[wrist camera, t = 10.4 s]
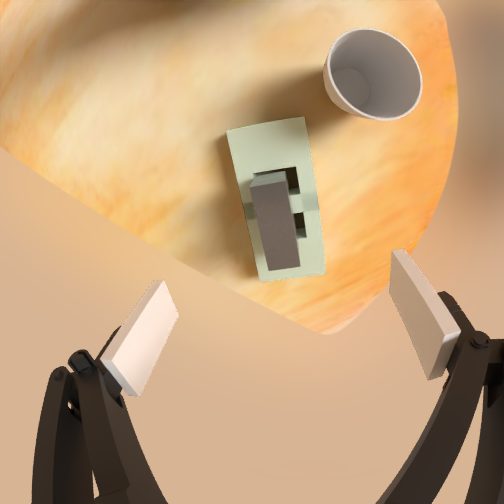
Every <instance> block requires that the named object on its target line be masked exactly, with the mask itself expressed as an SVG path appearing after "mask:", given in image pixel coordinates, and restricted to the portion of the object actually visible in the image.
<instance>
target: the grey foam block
mask: <svg viewBox="0 0 504 504" xmlns="http://www.w3.org/2000/svg"><path fill="white" fill-rule="evenodd" d="M249 188H250V193H251V197H252V201H253V205H254V210H255V214H256V218H257V223H258V227H259V231H260V236H261V240H262V244H263V249H264V253H265V258H266V262H267V266H268V271H274V270H281V269H288V268H295V267H301V265H300V255H299V245H298V239H297V230H296V222H295V216H294V213H293V210H292V204H291V199H290V194H289V184H288V179H287V174H286V172H285V171H281V172H276V173H270V174H265V175H260V176H255V178H254V180H253V182H252V183H251V185H250V187H249Z"/></svg>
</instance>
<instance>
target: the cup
mask: <svg viewBox="0 0 504 504" xmlns="http://www.w3.org/2000/svg"><path fill="white" fill-rule="evenodd" d="M323 78H324V85H325V89H326V92H327V94H328V96H329V97H330V99H331V100H332V101H333V102H334V103H335V104H336V105H337V106H338V107H339V108H341V109H343V110H344V111H346V112H348V113H350V114H352V115H354V116H357V117H361V118H368V119H375V120H382V121H390V120H396V119H399V118H402V117H404V116H406V115H407V114H409V113H410V112H411V111H412V110H413V109H414V108H415V107H416V105H417V104H418V102H419V100H420V97H421V94H422V85H423V84H422V75H421V71H420V68H419V65H418V63H417V61H416V59H415V57H414V56H413V54H412V53H411V52H410V50H409V49H408V48H407V47H406V46H405V45H404V44H403V43H402V42H401V41H399V40H398V39H397V38H395V37H394V36H392V35H390V34H388V33H386V32H384V31H381V30H378V29H373V28H356V29H352V30H349V31H347V32H345V33H343V34H341V35H340V36H339V37H338V38H337V39H336V40H335V41H334V42H333V44H332V46H331V48H330V50H329V53H328V56H327V59H326V61H325V64H324V69H323Z"/></svg>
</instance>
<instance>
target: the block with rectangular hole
mask: <svg viewBox="0 0 504 504" xmlns="http://www.w3.org/2000/svg"><path fill="white" fill-rule="evenodd" d="M226 134H227V138H228V142H229V147H230V151H231V156H232V160H233V164H234V169H235V173H236V178H237V182H238V186H239V191H240V195H241V200H242V204H243V208H244V213H245V217H246V222H247V226H248V230H249V235H250V239H251V244H252V248H253V253H254V257H255V261H256V266H257V270H258V275H259V279H260V282H267V281H275V280H283V279H291V278H299V277H307V276H314V275H322V274H326V268H325V257H324V246H323V237H322V227H321V219H320V211H319V203H318V195H317V188H316V181H315V175H314V168H313V162H312V156H311V150H310V144H309V139H308V133H307V128H306V123H305V118H304V116H303V117H296V118H289V119H283V120H277V121H271V122H265V123H260V124H255V125H249V126H245V127H240V128H235V129H231V130H226ZM288 167H296V172H297V178H298V184H299V188H294V189H289V194H290V199H291V204H292V210H293V213H300V212H303V216H304V223H305V228H299V229H296V230H297V239H298V245H299V255H300V265H301V267H295V268H288V269H281V270H274V271H268V266H267V262H266V258H265V253H264V249H263V244H262V240H261V236H260V231H259V227H258V223H257V218H256V214H255V210H254V205H253V201H252V197H251V193H250V188H249V187H250V185H251V183H252V182H253V180H254V178H255V176H257V173H258V172H264V171H269V170H275V169H282V168H288Z"/></svg>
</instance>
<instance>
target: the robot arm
mask: <svg viewBox="0 0 504 504" xmlns="http://www.w3.org/2000/svg"><path fill="white" fill-rule="evenodd" d="M389 292H390V295H391V297H392V299H393V301H394V303H395V305H396V307H397V309H398V311H399V314H400V316H401V318H402V320H403V322H404V324H405V327H406V329H407V331H408V333H409V336H410V338H411V340H412V343H413V345H414V347H415V350H416V352H417V355H418V357H419V359H420V362H421V365H422V367H423V370H424V372H425V375H426V378H427V380H431V379H435V378H438V377H441V376H442V375H443V374H444V371H445V369H446V368H447V370H448V372H449V376H448V378H447V380H446V382H445V384H444V386H443V391H442V393H441V395H440V397H439V400H438V402H437V404H436V406H435V409H434V411H433V413H432V415H431V417H430V419H429V421H428V423H427V425H426V427H425V429H424V431H423V433H422V434H421V436H420V438H419V440H418V442H417V443H416V445H415V447H414V449H413V450H412V452H411V454H410V455H409V457H408V459H407V460H406V462H405V463H404V465H403V466H402V468H401V469H400V471H399V472H398V474H397V475H396V477H395V478H394V480H393V481H392V483H391V484H390V485H389V487H388V488H387V489H386V491H385V492H384V493H383V495H382V496H381V497H380V499H379V500H378V501H377V502H376V504H432V502H433V500H434V499H435V497H436V496H437V494H438V492H439V490H440V489H441V487H442V485H443V483H444V482H445V480H446V478H447V476H448V474H449V472H450V470H451V468H452V466H453V464H454V462H455V460H456V458H457V456H458V454H459V452H460V449H461V447H462V445H463V442H464V440H465V438H466V435H467V433H468V430H469V427H470V425H471V422H472V419H473V416H474V413H475V410H476V407H477V404H478V401H479V397H480V394H481V390H482V387H483V386H484V395H483V412H482V423H481V430H480V438H479V445H478V451H477V456H476V461H475V466H474V470H473V474H472V478H471V482H470V486H469V490H468V493H467V496H466V500H465V503H464V504H504V339H490V338H489V336H487V335H486V334H485V333H484V332H481V331H475V329H474V328H473V326H472V325H471V323H470V321H469V320H468V318H467V317H466V315H465V314H464V312H463V311H461V308H460V307H459V305H457V302H456V301H455V299H454V298H453V297H452V296H451V295H449V294H448V293H447V292H445V291H443V292H439V293H436V291H435V290H434V288H433V287H432V285H431V284H430V283H429V282H428V280H427V278H426V277H425V276H424V274H423V273H422V272H421V270H420V269H419V268H418V266H417V265H416V264H415V262H414V261H413V260H412V258H411V257H410V256H409V254H408V253H407V252H406V251H405V249H399V250H392V255H391V274H390V288H389ZM178 316H179V314H178V312H177V310H176V307H175V305H174V303H173V301H172V298H171V296H170V293H169V291H168V289H167V286H166V284H165V281H164V280H157V281H153V282H152V284H151V285H150V286H149V288H148V289H147V290H146V292H145V293H144V295H143V296H142V297H141V299H140V300H139V302H138V303H137V304H136V306H135V307H134V309H133V310H132V312H131V313H130V314H129V316H128V317H127V319H126V320H125V322H124V323H123V325H122V326H120V327H119V328H117V329H116V330H115V331H114V332H113V334H112V335H111V337H110V339H109V340H108V341H107V343H106V345H105V346H104V347H103V349H102V350H101V351H100V353H99V355H98V356H97V358H96V359H95V361H94V359H93V358H92V357H91V355H90V354H89V352H88V351H87V350H78V351H77V352H75V353H73V354H72V355H71V357H70V358H69V360H68V365H69V366H70V367H71V368H72V369H73V371H74V372H72V373H70V372H69V371H68V369H67V368H66V367H64V366H60V367H58V368H56V369H55V370H54V371H53V372H52V373H51V375H50V378H49V382H48V386H47V390H46V393H45V397H44V402H43V407H42V411H41V416H40V421H39V427H38V433H37V439H36V447H35V454H34V464H33V478H32V503H31V504H168V503H167V502H166V500H165V498H164V496H163V495H162V492H161V490H160V488H159V486H158V484H157V482H156V480H155V478H154V476H153V474H152V472H151V470H150V468H149V465H148V463H147V461H146V459H145V456H144V454H143V452H142V449H141V447H140V444H139V442H138V439H137V436H136V434H135V431H134V428H133V426H132V423H131V420H130V417H129V414H128V411H127V408H126V405H125V402H124V399H123V396H122V395H121V394H120V392H121V390H122V388H123V390H124V391H125V392H126V393H127V394H128V395H129V396H135V397H140V396H141V394H142V392H143V389H144V387H145V385H146V383H147V381H148V379H149V377H150V374H151V372H152V370H153V368H154V366H155V364H156V362H157V359H158V357H159V355H160V353H161V351H162V349H163V347H164V345H165V343H166V341H167V338H168V337H169V335H170V332H171V331H172V328H173V326H174V324H175V322H176V320H177V318H178ZM68 402H69V403H70V404H71V409H70V408H69V407H68ZM92 470H93V473H94V477H95V480H96V484H97V487H98V490H99V496H98V497H96V498H95V499H94V494H93V477H92Z"/></svg>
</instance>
